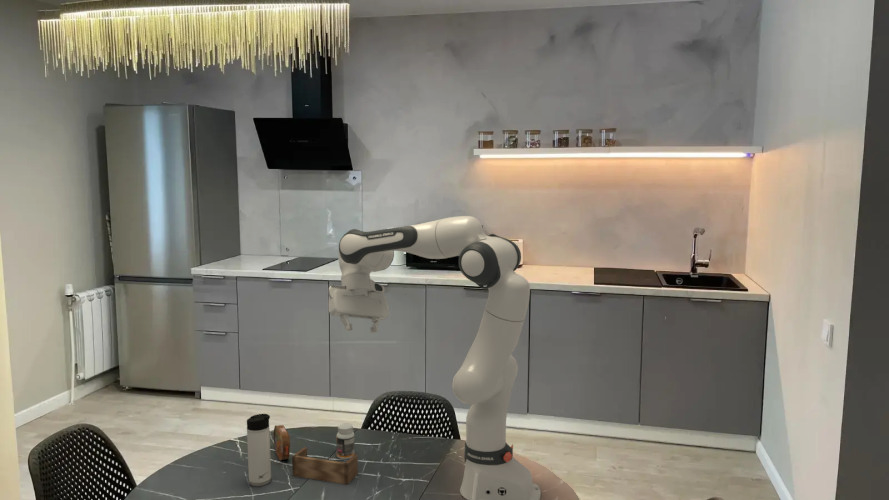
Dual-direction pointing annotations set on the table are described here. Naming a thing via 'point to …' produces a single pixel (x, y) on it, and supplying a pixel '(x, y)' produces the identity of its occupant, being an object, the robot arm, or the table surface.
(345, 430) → the pill bottle
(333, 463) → the box
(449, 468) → the table surface
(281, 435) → the tin
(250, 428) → the travel mug
